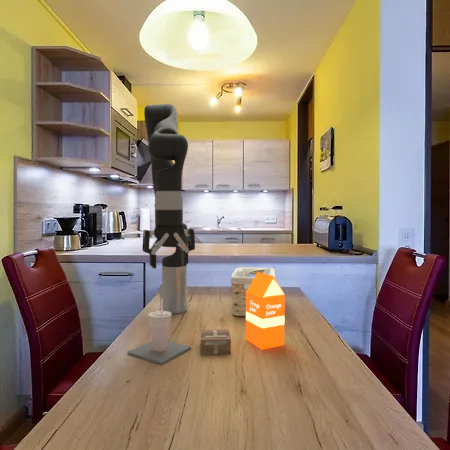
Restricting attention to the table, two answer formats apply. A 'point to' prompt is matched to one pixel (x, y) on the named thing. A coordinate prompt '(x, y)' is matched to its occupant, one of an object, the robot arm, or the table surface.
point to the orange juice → (265, 312)
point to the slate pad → (159, 357)
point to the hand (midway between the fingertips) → (169, 266)
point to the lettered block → (215, 341)
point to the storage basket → (244, 286)
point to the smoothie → (159, 328)
